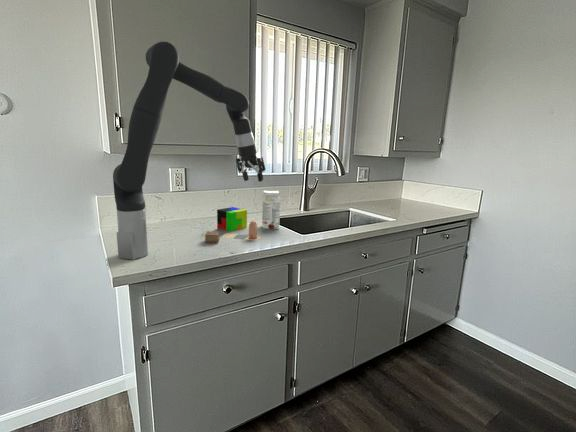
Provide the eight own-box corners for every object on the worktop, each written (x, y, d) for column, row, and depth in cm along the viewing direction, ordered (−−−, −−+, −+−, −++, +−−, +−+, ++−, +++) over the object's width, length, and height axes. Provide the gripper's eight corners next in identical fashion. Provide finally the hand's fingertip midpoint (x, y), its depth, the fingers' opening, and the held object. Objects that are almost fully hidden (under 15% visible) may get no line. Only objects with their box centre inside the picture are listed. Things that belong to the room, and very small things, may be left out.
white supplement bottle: (279, 231, 159) (280, 192, 155) (261, 231, 158) (262, 192, 154) (278, 227, 166) (279, 190, 162) (261, 227, 166) (262, 190, 161)
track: (256, 243, 138) (256, 240, 138) (208, 238, 143) (208, 235, 142) (261, 239, 145) (261, 236, 145) (215, 234, 149) (215, 231, 149)
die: (217, 246, 133) (217, 234, 132) (205, 246, 133) (205, 234, 132) (219, 242, 138) (219, 231, 137) (207, 242, 138) (207, 231, 137)
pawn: (255, 239, 140) (255, 222, 138) (247, 238, 141) (247, 221, 139) (258, 237, 143) (258, 220, 142) (250, 236, 144) (250, 219, 142)
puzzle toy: (233, 226, 166) (233, 207, 163) (246, 230, 159) (246, 210, 157) (217, 229, 158) (217, 209, 156) (231, 234, 152) (231, 213, 150)
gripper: (227, 146, 140) (236, 183, 145) (252, 145, 131) (260, 184, 137) (240, 142, 145) (247, 177, 151) (264, 141, 136) (271, 178, 142)
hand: (253, 180), depth 144 cm, fingers open, 8 cm apart
